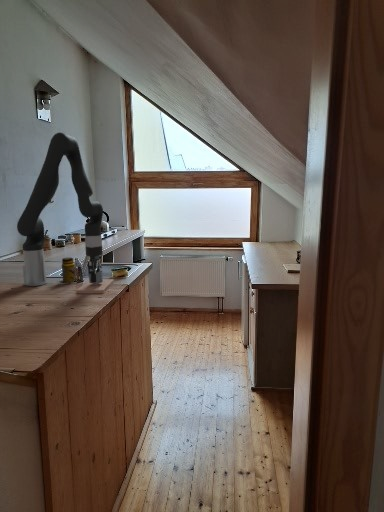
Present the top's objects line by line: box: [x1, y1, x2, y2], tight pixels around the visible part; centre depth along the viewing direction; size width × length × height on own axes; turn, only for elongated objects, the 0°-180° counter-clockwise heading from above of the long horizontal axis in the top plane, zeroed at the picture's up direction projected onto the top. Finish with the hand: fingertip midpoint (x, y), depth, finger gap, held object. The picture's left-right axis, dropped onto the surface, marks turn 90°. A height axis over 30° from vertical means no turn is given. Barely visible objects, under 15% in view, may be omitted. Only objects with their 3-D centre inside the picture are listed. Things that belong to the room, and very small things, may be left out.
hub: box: [88, 269, 104, 284], centre depth 168 cm, size 6×6×5 cm
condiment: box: [57, 257, 76, 285], centre depth 179 cm, size 7×8×12 cm
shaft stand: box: [76, 278, 115, 294], centre depth 169 cm, size 12×19×6 cm, turn 178°
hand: (95, 280), depth 168 cm, fingers closed on hub, 6 cm apart
